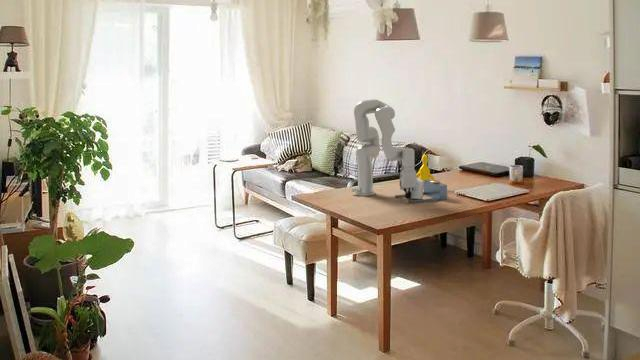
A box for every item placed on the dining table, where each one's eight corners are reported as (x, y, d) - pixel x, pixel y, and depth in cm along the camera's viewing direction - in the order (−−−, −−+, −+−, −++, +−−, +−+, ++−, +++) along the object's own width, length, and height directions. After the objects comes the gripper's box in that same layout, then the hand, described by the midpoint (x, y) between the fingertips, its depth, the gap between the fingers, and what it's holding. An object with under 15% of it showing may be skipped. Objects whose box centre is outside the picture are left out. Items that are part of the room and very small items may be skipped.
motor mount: (409, 204, 344) (409, 187, 342) (394, 197, 362) (394, 182, 360) (447, 199, 353) (447, 183, 351) (431, 193, 370) (431, 177, 368)
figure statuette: (435, 185, 393) (436, 153, 389) (438, 187, 386) (439, 154, 381) (409, 186, 393) (409, 154, 388) (412, 188, 385) (412, 156, 381)
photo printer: (423, 198, 356) (424, 178, 355) (421, 199, 352) (422, 179, 351) (407, 197, 361) (408, 177, 360) (405, 198, 357) (406, 178, 356)
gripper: (400, 171, 344) (400, 201, 348) (422, 168, 350) (422, 198, 353) (394, 169, 351) (394, 198, 355) (415, 166, 356) (415, 195, 360)
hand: (408, 198), depth 354 cm, fingers closed
